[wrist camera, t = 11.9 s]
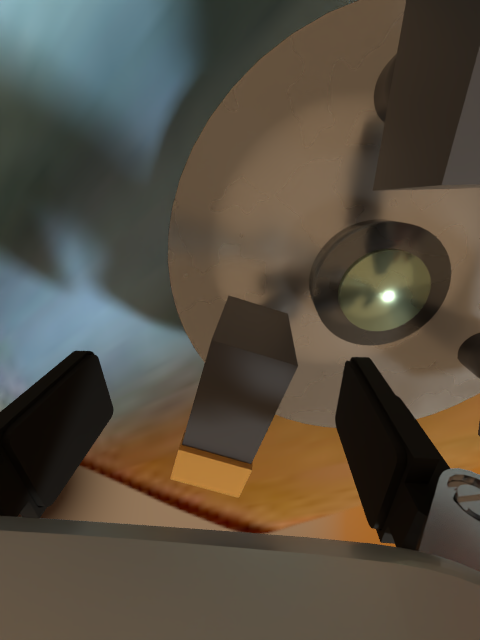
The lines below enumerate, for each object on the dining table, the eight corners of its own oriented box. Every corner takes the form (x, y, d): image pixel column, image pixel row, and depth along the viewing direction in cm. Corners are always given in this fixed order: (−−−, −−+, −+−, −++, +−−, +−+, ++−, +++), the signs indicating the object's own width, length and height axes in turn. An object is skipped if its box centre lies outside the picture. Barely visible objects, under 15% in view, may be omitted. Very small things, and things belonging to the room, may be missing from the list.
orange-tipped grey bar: (420, 190, 10) (598, 180, 4) (351, 192, 10) (444, 184, 5) (481, -53, 7) (1042, -708, 2) (386, -44, 7) (668, -613, 2)
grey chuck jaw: (233, 280, 12) (207, 343, 7) (285, 296, 12) (300, 370, 7) (203, 380, 14) (169, 482, 9) (247, 393, 14) (236, 501, 9)
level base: (221, 414, 18) (211, 465, 15) (130, 100, 11) (67, 53, 8) (513, 390, 15) (586, 446, 12) (643, -55, 8) (923, -243, 5)
